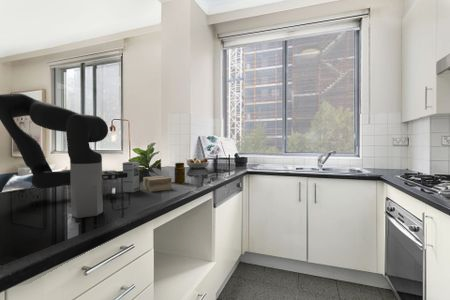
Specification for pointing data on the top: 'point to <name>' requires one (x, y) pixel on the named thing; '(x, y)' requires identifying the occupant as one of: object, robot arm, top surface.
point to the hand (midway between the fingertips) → (126, 174)
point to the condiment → (179, 174)
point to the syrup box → (131, 176)
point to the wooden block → (156, 183)
